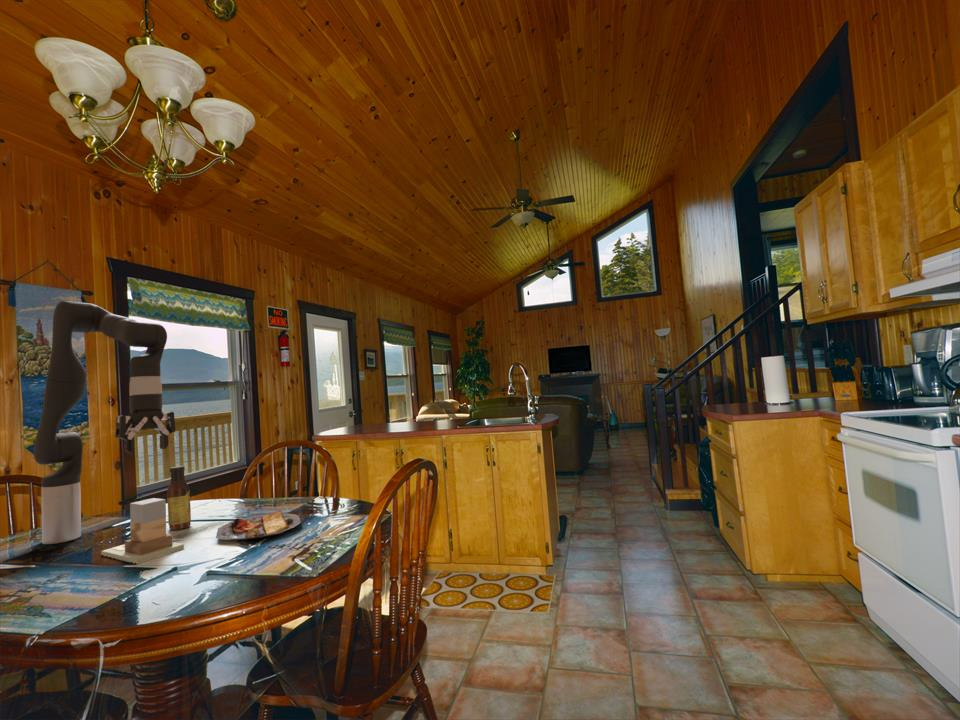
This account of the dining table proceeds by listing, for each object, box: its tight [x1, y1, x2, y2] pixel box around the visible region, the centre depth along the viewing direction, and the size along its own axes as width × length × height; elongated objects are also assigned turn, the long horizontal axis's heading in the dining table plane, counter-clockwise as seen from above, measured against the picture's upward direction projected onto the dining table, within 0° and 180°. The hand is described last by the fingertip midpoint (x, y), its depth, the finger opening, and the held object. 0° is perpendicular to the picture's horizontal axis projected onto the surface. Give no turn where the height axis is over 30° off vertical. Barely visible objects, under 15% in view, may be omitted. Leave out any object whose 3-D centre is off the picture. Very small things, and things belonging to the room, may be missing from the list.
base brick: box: [124, 533, 173, 555], centre depth 131 cm, size 8×8×3 cm
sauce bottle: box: [166, 465, 192, 531], centre depth 155 cm, size 7×6×20 cm
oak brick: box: [129, 517, 167, 542], centre depth 131 cm, size 6×6×5 cm
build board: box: [100, 541, 185, 565], centre depth 132 cm, size 18×12×1 cm, turn 62°
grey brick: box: [129, 497, 167, 524], centre depth 132 cm, size 6×6×5 cm
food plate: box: [215, 509, 302, 541], centre depth 147 cm, size 25×23×4 cm
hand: (147, 451), depth 132 cm, fingers open, 8 cm apart
